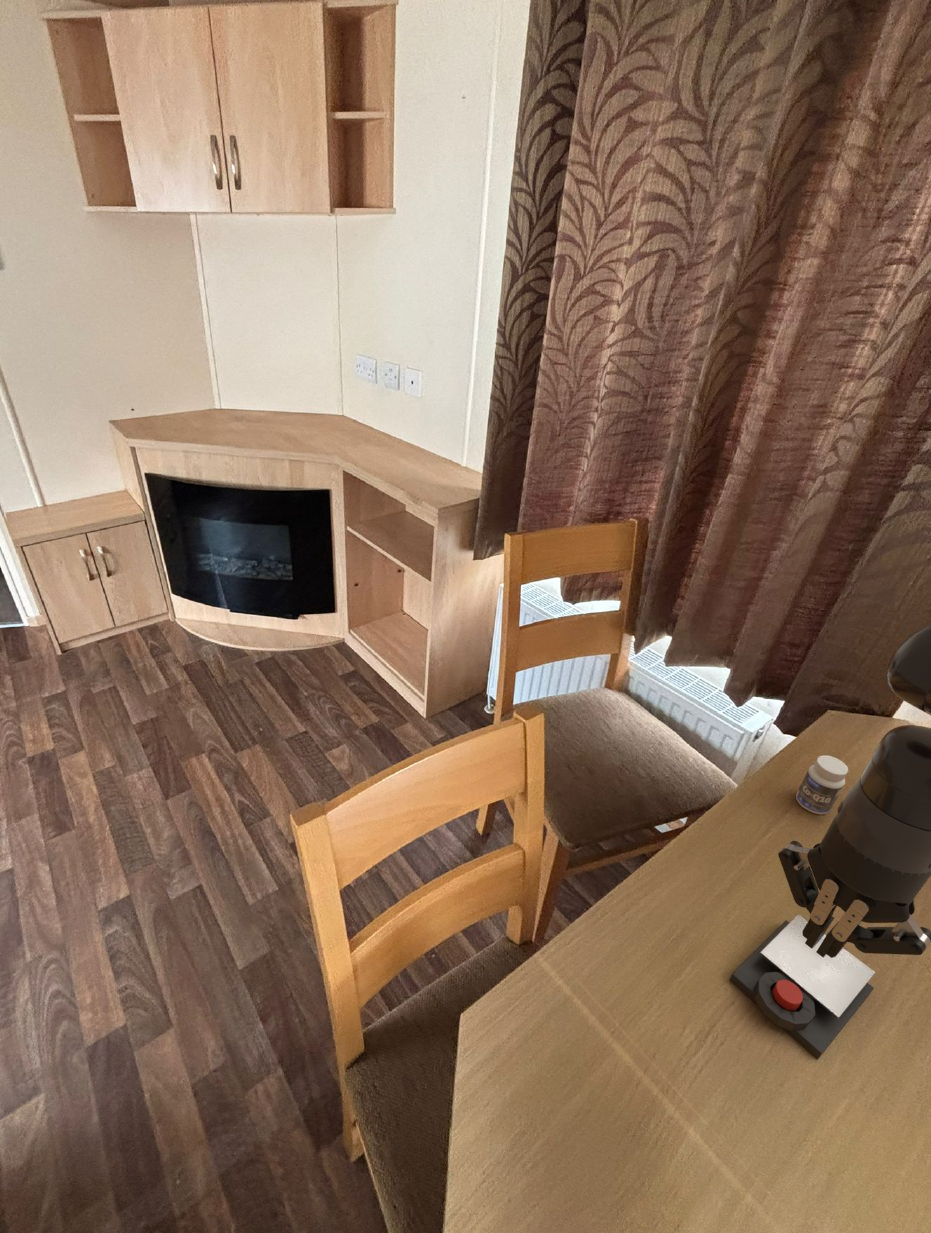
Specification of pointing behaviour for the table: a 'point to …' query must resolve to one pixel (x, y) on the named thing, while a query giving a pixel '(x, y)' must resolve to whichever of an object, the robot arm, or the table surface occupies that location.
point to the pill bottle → (822, 785)
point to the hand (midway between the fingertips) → (818, 945)
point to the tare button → (787, 995)
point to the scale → (809, 1019)
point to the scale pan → (817, 968)
